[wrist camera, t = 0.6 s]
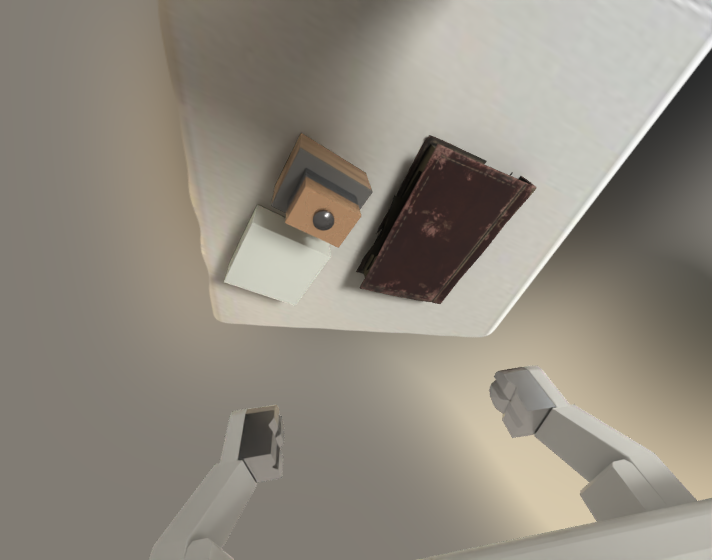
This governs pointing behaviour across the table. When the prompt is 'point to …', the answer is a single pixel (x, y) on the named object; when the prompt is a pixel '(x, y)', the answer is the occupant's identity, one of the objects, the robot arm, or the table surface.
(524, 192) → the diary
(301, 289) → the grey stand
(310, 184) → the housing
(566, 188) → the table surface
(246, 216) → the table surface
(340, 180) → the walnut stand
